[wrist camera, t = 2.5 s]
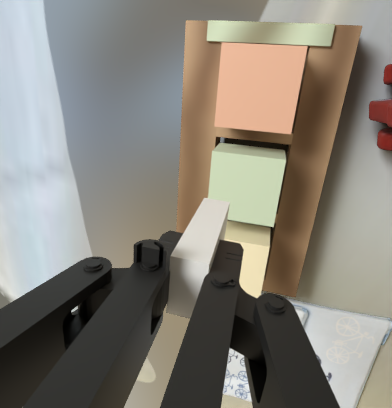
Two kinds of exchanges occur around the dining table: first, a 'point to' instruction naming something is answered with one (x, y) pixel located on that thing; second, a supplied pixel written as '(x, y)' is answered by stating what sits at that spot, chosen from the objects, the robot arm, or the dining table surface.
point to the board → (298, 139)
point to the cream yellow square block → (251, 254)
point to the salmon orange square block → (259, 86)
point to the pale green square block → (247, 181)
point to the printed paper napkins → (328, 350)
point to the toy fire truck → (383, 114)
